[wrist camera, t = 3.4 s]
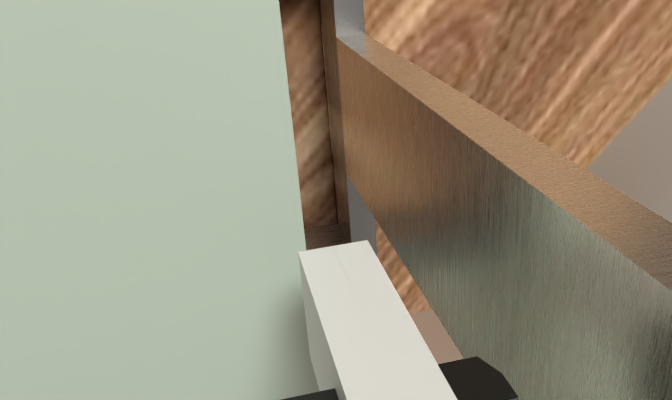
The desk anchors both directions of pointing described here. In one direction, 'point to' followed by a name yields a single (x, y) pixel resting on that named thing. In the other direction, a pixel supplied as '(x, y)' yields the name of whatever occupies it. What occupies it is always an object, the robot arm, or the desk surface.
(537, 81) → the desk surface
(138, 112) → the sage green tall block
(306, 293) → the robot arm
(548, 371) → the frame
